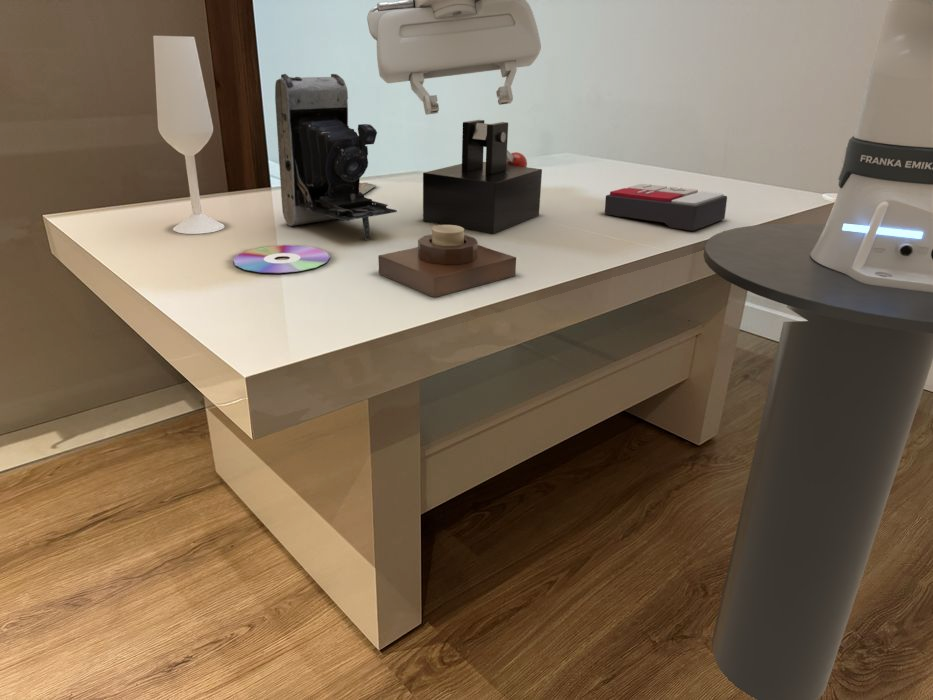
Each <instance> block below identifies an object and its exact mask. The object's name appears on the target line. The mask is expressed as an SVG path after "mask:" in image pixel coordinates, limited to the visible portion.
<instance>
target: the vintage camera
mask: <svg viewBox="0 0 933 700" xmlns="http://www.w3.org/2000/svg"><path fill="white" fill-rule="evenodd" d="M348 95H349V94H348V86H347V84H346V82H345V79H343V78H342V77H341V76H340V75H339V74H337V73H330V76H311V77H310V76H309V77H308V76H307V77H306V76H305V77H301V76H295V77H292V76H289V75H288V74H286V73H283V74H281V76H280V78H278V79H276V80H275V85H274V97H275V98H274V102H275V117H276V134H277V148H278V149H277V150H278V165H279V179H280V196H281V197H280V198H281V210H282V216H283V219H284V221H285V223H286V225H288V226H289V227H293V226H301V225H307V224H314V223H319V222H326V221H332V220H341V221H343V222H349V221H353V220H358V219H361V220H362V228H363V229H362V230H363V233H364V235H363V236H364V240H365V241H368V240H371V233H370V232H371V231H370V221H369V218H371V217H376V216H381V215H382V216H383V215H386V214H387V215H388V214H394V213H398V210H397V209H393V208H389V207H388V206H389V204H387V203H382V202H380V201H375V200H373V199H372V198H368V197H365V195H364V194H362V193H361V192H359V183H361V182H360V180H361V177H362V176H364V174H365V173H366V170H367V168H368V166H369V160H368V155H369V149H368V145H374V144H375V142H376V139H377V134H378V131H377V129H376V128H375V127H374V126H373V125H371V124H370V123H369V124H368V123H361V124H357V132H356V131H355V129H354V128H350V127H349V106H348V105H349V102H348V99H349V96H348Z"/></svg>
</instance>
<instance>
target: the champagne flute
mask: <svg viewBox="0 0 933 700" xmlns="http://www.w3.org/2000/svg"><path fill="white" fill-rule="evenodd" d="M152 40H153V60H154V77H155V95H156V97H155V99H156V116H157V117H156V118H157V130H158V132H159V134H160V136H161V137H162V138H163V140H164V141H165V142H166V143H167V144H168V145H169V146H171V148H173V149H174V150H175V151H177V152H178V153H180V154H182V156H183V155H184V159H185V167H186V174H187V175H186V176H187V181H188V183H187V184H188V190H189V197H190V205H191V211H192V214H190V215H189V216H188V217H186V218H185V219H184V220H182V221H180V223H178V224H177V225H175V226H174V227H173V229H172V230H173V231H174V232H176V233H179V234H184V235H185V234H187V235H200V234H210V233H214V232H219V231H221V230H224V228H225V224H223V223H221V222H219V221H217V220H216V219H213V218H212V217H210V216H208V215H205V214H204V213H203V212H202V204H201V195H200V189H199V182H198V181H199V179H198V172H197V167H196V166H197V165H196V157H195V155H196V154H198V153H199V152H201V150H203V148H205V146H206V145H207V144H208V142H209V141H210V139H211V137H212V136H213V133H214V124H213V120H212V114H211V110H210V106H209V105H210V104H209V101H208V96H207V91H206V86H205V81H204V77H203V71H202V66H201V62H200V58H199V57H200V56H199V52H198V48H197V44H196V38H195V36H183V35H181V36H179V35H153V36H152Z"/></svg>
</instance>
